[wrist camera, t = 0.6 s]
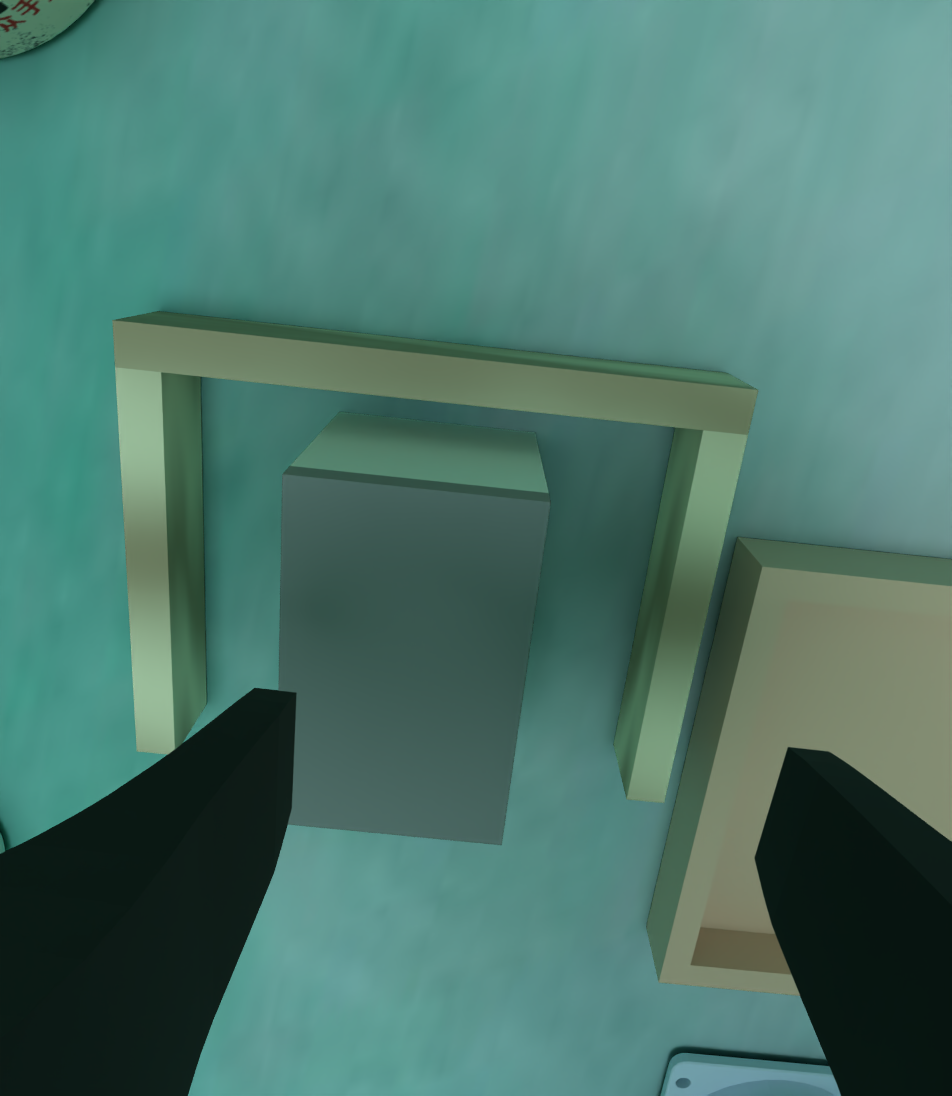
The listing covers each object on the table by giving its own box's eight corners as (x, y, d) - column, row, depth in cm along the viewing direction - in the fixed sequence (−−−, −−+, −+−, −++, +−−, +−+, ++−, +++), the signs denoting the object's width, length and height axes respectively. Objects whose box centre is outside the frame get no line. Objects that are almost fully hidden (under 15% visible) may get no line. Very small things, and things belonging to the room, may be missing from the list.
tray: (995, 960, 26) (1036, 1018, 24) (646, 926, 26) (658, 982, 24) (1165, 581, 21) (1232, 615, 19) (737, 536, 21) (762, 566, 19)
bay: (646, 747, 24) (664, 803, 21) (172, 700, 23) (136, 751, 21) (726, 372, 20) (757, 390, 17) (158, 311, 19) (112, 320, 17)
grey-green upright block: (499, 700, 23) (501, 845, 18) (328, 683, 23) (276, 823, 18) (534, 431, 20) (550, 502, 15) (339, 410, 20) (282, 473, 15)
